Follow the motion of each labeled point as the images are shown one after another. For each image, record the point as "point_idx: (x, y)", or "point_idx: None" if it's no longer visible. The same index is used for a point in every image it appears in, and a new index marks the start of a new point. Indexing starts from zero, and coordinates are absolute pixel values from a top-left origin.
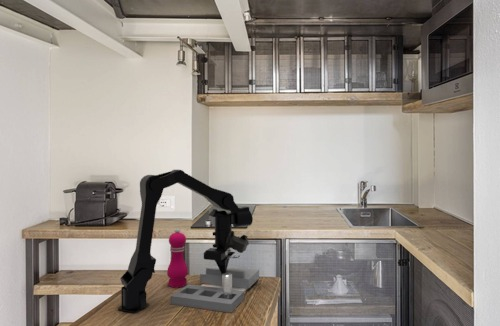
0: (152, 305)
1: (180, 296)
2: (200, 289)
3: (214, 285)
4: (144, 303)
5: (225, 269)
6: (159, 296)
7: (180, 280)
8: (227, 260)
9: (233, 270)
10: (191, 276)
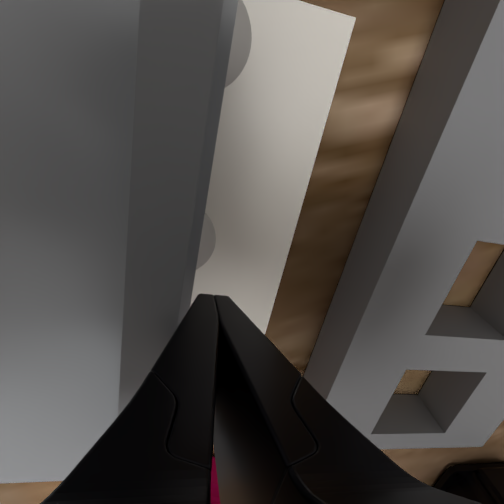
0: (452, 453)
1: (502, 409)
2: (407, 362)
3: None
4: (502, 481)
5: (239, 328)
6: None
7: (218, 502)
8: (212, 449)
9: (142, 210)
10: (10, 488)
